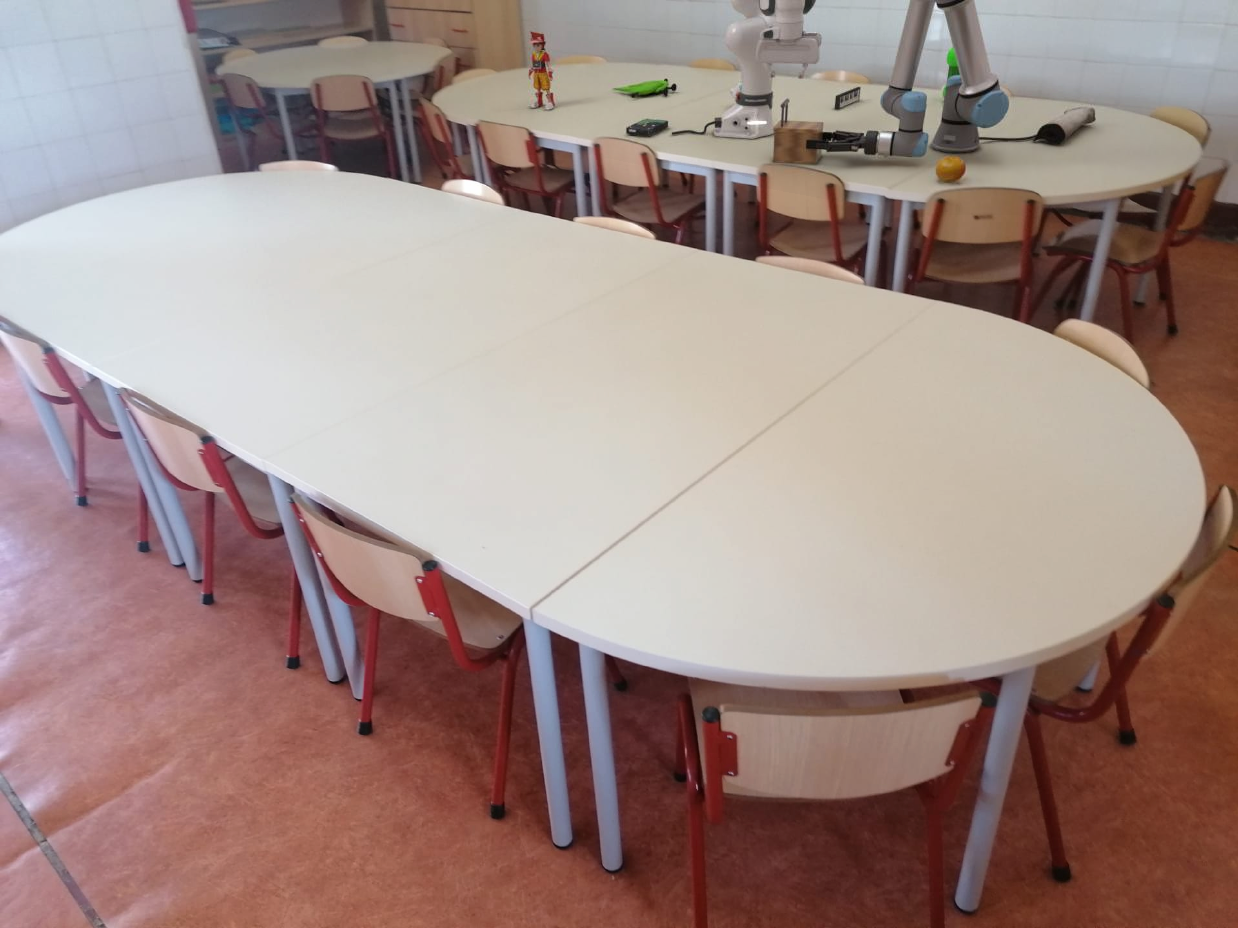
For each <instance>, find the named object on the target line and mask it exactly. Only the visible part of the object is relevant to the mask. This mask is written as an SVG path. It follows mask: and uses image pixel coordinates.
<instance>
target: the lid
mask: <svg viewBox="0 0 1238 928" xmlns="http://www.w3.org/2000/svg"><path fill="white" fill-rule="evenodd" d="M789 103H790V99H789V98H785V99H784V100H783V102H782V103H781V104H780V108H781V115H780V120H778V121H777V123H776V124H775V125H773V126H774V128H773V132H794V133H819V131H820V130H821V128H822V127H823V128H824V124H825V123H824V121H810V120H809V121H806V120H788V113H789Z"/></svg>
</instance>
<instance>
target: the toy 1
mask: <svg viewBox="0 0 1238 928" xmlns="http://www.w3.org/2000/svg"><path fill="white" fill-rule="evenodd" d="M529 33H530V35H531V36H528V37H527V38H528V39H529V40H528V41H527V43H529V44H530V43H531V44H532V48H533V50H534V51H533V52H532V55H531V58H530V59H531V63H530V66H528V74H527V75H528V76H527V77H528V79H529V80H531V75H532V74H533V84H532V85H533V86H532V87H533V88H534V89H535V90H536V92H534V95H535V97H536V100H535V101H533V102H531V105H530V108H531V109H535V108H538V107H542V106H544V101H543V100H544V99H543V95H544V92H546V94H545V97H546V99H547V103H546V104H545V106H544V110H546V111H549V110H553V109H554V107H555V106H556V105H555V99H554V92H551V91H550V90H551V86H552V84H551V82H552V81H553V80H554V77H553V73H554V71H555V70H554V69H552V68H551V63H550V61H551V59H550V58H551V57H550V54H549V53H548V52H547V50H546V48H545V46H546V44H547V41H545V35H544V33H543V32H542V33H539V32H535V31H529Z"/></svg>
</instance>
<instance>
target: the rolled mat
mask: <svg viewBox="0 0 1238 928" xmlns="http://www.w3.org/2000/svg"><path fill="white" fill-rule="evenodd" d="M1096 119H1097V118H1096V109H1095V108H1094V107H1087V106H1083V107H1074V108H1069V109H1066V110H1064V112H1063V114H1061V115H1059V116H1057V117H1055V118H1054V119H1052V120H1050V121H1048V122H1046V123H1045V124H1043V125H1042V126H1040V128H1039V129H1038V131H1037V132H1036V134H1035V135H1036V136H1035V138H1033V139H1032V142H1033V143H1035V142H1037V141H1042V140H1043V141H1044V142H1046V143H1047V144H1051V145H1057V146H1059V145H1061V144H1063V143H1064V142H1065V141H1066V140H1067V139H1068V138H1069V137H1070V136H1071V135H1072V134H1073V133H1074V132H1076V131H1077V130H1078V129H1079V128H1081V126H1083V125H1088V124H1093V123H1095V121H1096Z"/></svg>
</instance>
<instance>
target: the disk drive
mask: <svg viewBox="0 0 1238 928" xmlns="http://www.w3.org/2000/svg"><path fill="white" fill-rule="evenodd" d="M667 128H669V120H664V119H652V118H644V119H641V120H640V121H637V122H635V123H633V124H631V125H628V126H626V128H625V132H626V133H625V134H626V135H629V136H630V135H631V136H638V137H652V136H653V135H655V134H657V133H659V132H662V131H664V130H666V129H667Z"/></svg>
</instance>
